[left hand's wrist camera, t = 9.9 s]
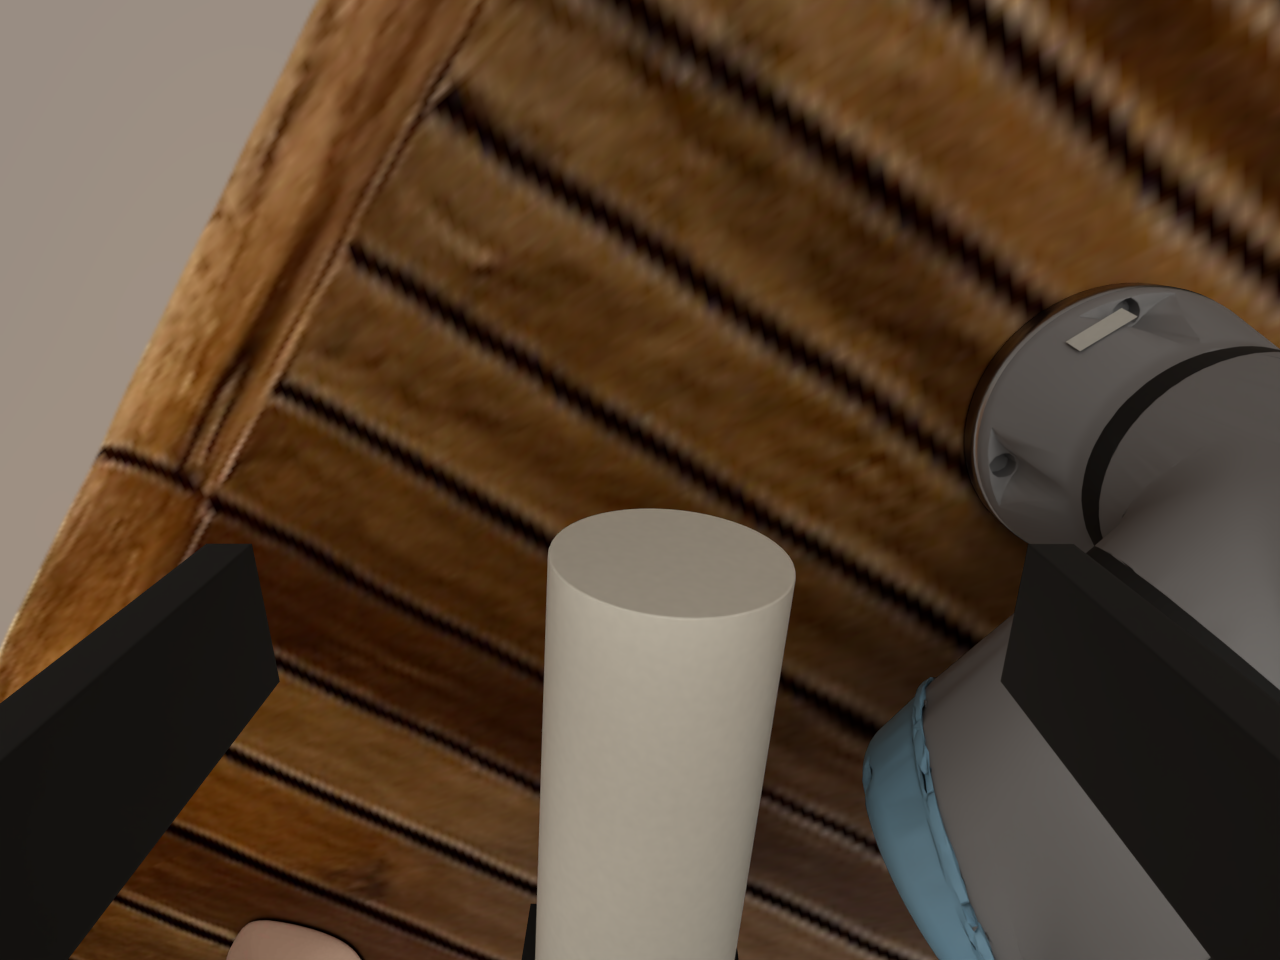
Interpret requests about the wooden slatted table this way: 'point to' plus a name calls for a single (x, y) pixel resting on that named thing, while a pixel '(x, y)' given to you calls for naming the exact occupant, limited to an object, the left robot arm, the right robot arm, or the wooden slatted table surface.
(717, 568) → the rod
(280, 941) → the anatomical model
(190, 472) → the wooden slatted table surface
